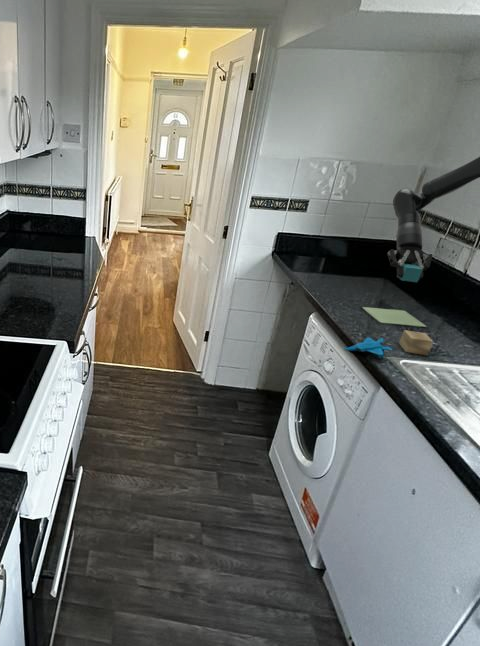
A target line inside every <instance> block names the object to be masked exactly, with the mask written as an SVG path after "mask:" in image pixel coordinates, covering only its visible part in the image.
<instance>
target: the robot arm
mask: <svg viewBox="0 0 480 646" xmlns="http://www.w3.org/2000/svg"><path fill="white" fill-rule="evenodd" d="M479 178H480V156H478V157H476V158H475V159H473V160H471V161H469V162H467V163H465V164H463V165H460V166H459V167H457V168H454V169H453V170H450V171H449V172H446V173H444V174H442V175H440V176H437V177H435V178H433V179H431V180H428V181H427V182H425V183H424V184H423V185H422V187H421V192H420V193H417V192H415V191H414V190H412V189H410V188H401V189H399V190H397V192H396V193H395V194H394V195H393V198H392V207H393V210H394V213H395V217H396V219H397V220H396V227H397V228H396V235H395V239H396V250H395V249H393V248H392V249H389V250H388V252H387V253H386V254H387V258H388V262H389V266H391V267H392V268H393V267H394V268H395V269H396V277H397V276H398V277H399V278H398V277H397V278H398V279H400V278H402V277H403V276H404V267H403V264H405V263H409V264H411V265H417V266H419V267H420V268H421V269H423V270H422V272H421V275H420V277H419V280H418V281H421V280H422V279H423V278H424V272H425V271H426V270H427V269H429V268H430V266H431V263H432V259H433V254H432V253H428V254H427V253H425V252H424V250H423V232H422V231H423V230H422V224H421V223H422V221H421V215H420V213H419V212H420V211H421V210H422V209H424V208H425V207H427V206H429V205H430V204H431V203H432V202H434V201H435V200H437V199H440V198H442V197H444V196H446V195H449V194H451V193H452V194H453V193H454V192H457V191H458V190H459V189H461V188H463V187H465V186H467V185H468V184H470V183H472V182H473V181H475V180H478V179H479ZM397 257H398V258H399V259H397Z"/></svg>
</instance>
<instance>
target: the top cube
mask: <svg viewBox="0 0 480 646" xmlns="http://www.w3.org/2000/svg"><path fill="white" fill-rule="evenodd" d="M403 267H404V276H403V277H402V278H399V277H398V276H397V275H396V277H397V278H398V279H399V280H400V281H403V282H411V283H418V281H420V280H419V277H420V275H421V272H422V270H423V269H421V268H420V267H419V266H417V265H413V264H412V263H404V264H403Z"/></svg>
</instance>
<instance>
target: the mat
mask: <svg viewBox="0 0 480 646" xmlns="http://www.w3.org/2000/svg"><path fill="white" fill-rule="evenodd" d="M361 308H362V309H363V310H364V312H366V313H367V314H368V315H370V316H371V317H372V318H373V319H374V320H375V321H376V322H377V321H378V322H379V323H381V324H382V323H383V324H393V325H403V326H410V327H418V328H427V327H428V326H427V325H425V324H424V323H423V322H421V321H420V320H419V319H417V318H416V317H414V316H413V315H411V314H410V313H409V312H407V311H406V310H401V309H390V308H379V307H365V306H362V307H361Z"/></svg>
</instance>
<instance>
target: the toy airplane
mask: <svg viewBox="0 0 480 646" xmlns="http://www.w3.org/2000/svg"><path fill="white" fill-rule="evenodd" d="M383 343H384V337H381V338H379V339H378V340H377V341H375V340H373V339H372V338H371V337H365V338H364V340H363V341H362V342H360V343H357V344H356V343H355V344H354V345H351V346H349V347H346V348H344V349H343V351H347V352H360V353H361V352H367V353H370V354H373V355H376V357H377V358H378V359H379V360H380V359H384V358H385V350H386V351H394V348H391V347H390V346H385V345H384V344H383Z"/></svg>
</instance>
